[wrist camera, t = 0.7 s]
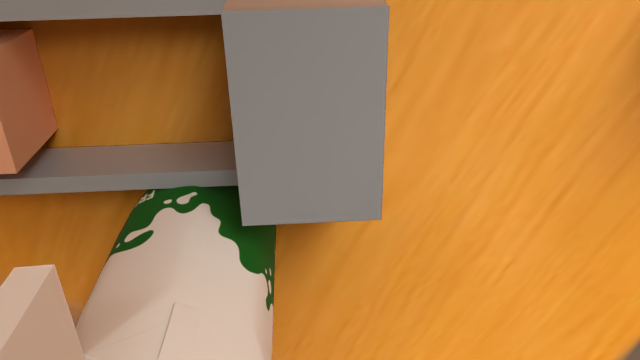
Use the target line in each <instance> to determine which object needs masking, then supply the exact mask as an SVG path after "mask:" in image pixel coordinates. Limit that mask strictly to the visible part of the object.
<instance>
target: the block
mask: <svg viewBox="0 0 640 360" xmlns="http://www.w3.org/2000/svg"><path fill="white" fill-rule="evenodd" d="M57 129H58V126H57V122H56V118H55V115H54V111H53V107H52V103H51V99H50V95H49V91H48V87H47V84H46V80H45V76H44V72H43V68H42V64H41V60H40V56H39V52H38V49H37V45H36V41H35V37H34V33H33V29H2V30H0V174H16V173H18V172H19V171H20V169H21V168H22V167H23V166H24V165H25V164H26V163H27V162H28V161H29V160H30V159H31V158H32V156H33V155H34V154H35V153H36V152H37V151H38V150H39V149H40V148H41V147H42V146H43V144H44V143H45V142H46V141H47V140H48V139H49V138H50V137H51V136H52V135H53V134H54V132H55V131H56V130H57Z"/></svg>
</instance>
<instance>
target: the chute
mask: <svg viewBox="0 0 640 360" xmlns="http://www.w3.org/2000/svg"><path fill="white" fill-rule="evenodd" d="M193 15H221V19H222V29H223V39H224V49H225V59H226V68H227V78H228V88H229V98H230V108H231V118H232V128H233V138H234V141H219V142H194V143H169V144H143V145H118V146H93V147H68V148H42V149H39V150H38V151H37V152H36V153H35V154H34V155H33V156H32V158H31V159H30V160H29V161H28V162H27V163H26V164H25V165H24V166H23V167H22V168H21V169H20V171H19V172H18V173H16V174H0V196H1V195H25V194H49V193H72V192H96V191H119V190H143V189H167V188H176V187H183V186H199V187H214V186H237V185H238V187H239V197H240V207H241V217H242V226H254V225H276V224H298V223H321V222H343V221H365V220H382V193H383V165H384V138H385V110H386V82H387V55H388V27H389V5H388V4H387V3H386V1H385V0H0V22H3V21H35V20H67V19H98V18H130V17H161V16H193Z"/></svg>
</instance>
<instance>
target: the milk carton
mask: <svg viewBox="0 0 640 360" xmlns="http://www.w3.org/2000/svg"><path fill="white" fill-rule="evenodd" d="M275 244H276V225H254V226H242V217H241V207H240V197H239V187H238V185H237V186H214V187H199V186H183V187H176V188H167V189H148V190H147V191H146V193H145V194H144V195H143V197H142V198H141V199H140V201H139V202H138V203H137V205H136V206H135V208H134V209H133V211H132V212H131V214H130V216H129V218H128V219H127V221H126V223H125V225H124V227H123V229H122V231H121V232H120V234H119V236H118V238H117V240H116V242H115V244H114V246H113V248H112V250H111V253H110V255H109V257H108V259H107V261H106V263H105V265H104V267H103V269H102V271H101V274H100V276H99V278H98V280H97V282H96V284H95V286H94V288H93V290H92V292H91V295H90V297H89V299H88V301H87V303H86V305H85V307H84V309H83V311H82V314H81V316H80V318H79V321H78V323H77V326H76V331H77V334H78V337H79V340H80V343H81V346H82V349H83V353H84V356H85V359H86V360H272V336H273V303H274V270H275Z"/></svg>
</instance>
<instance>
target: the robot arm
mask: <svg viewBox="0 0 640 360" xmlns="http://www.w3.org/2000/svg"><path fill="white" fill-rule="evenodd" d="M0 360H86V359H85V356H84V353H83V349H82V346H81V343H80V340H79V337H78V334H77V331H76V328H75V325H74V322H73V319H72V316H71V313H70V310H69V307H68V304H67V301H66V298H65V295H64V292H63V289H62V286H61V283H60V280H59V277H58V274H57V271H56V268H55V265H54V264H52V265H39V266H25V267H14V269H13V270H12V272H11V273H10V274H9V276H8V277H7V279H6V280H5V281H4V283H3V284H2V285H1V287H0Z"/></svg>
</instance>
